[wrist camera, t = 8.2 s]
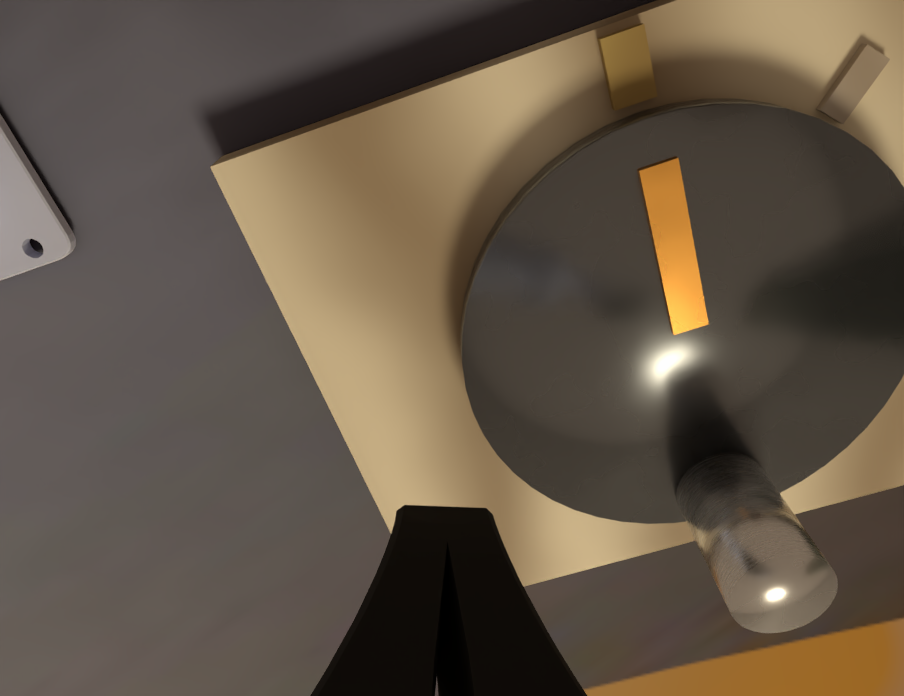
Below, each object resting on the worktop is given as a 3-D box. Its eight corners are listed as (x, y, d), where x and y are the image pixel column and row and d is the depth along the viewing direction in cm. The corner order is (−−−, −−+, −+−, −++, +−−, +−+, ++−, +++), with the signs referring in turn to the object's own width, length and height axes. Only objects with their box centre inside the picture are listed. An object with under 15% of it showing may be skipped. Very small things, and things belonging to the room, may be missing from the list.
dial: (913, 447, 21) (1039, 567, 17) (530, 552, 23) (556, 689, 18) (899, 20, 16) (1083, 36, 11) (394, 196, 17) (385, 269, 13)
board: (429, 584, 25) (429, 618, 24) (222, 155, 18) (206, 169, 17) (1010, 427, 23) (1047, 454, 21) (1042, -139, 16) (1100, -150, 14)
